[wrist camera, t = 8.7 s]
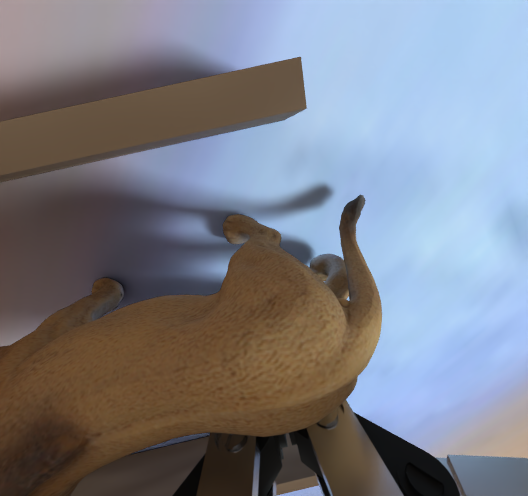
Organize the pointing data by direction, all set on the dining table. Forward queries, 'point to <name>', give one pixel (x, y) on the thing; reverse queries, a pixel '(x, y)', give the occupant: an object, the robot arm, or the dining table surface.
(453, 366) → the dining table surface
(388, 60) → the dining table surface
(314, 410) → the lion figurine
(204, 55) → the dining table surface
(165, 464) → the u-shaped wooden rail
